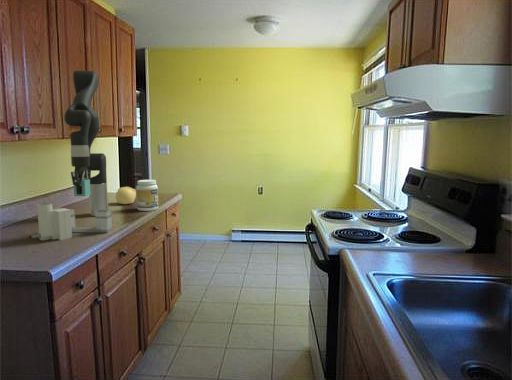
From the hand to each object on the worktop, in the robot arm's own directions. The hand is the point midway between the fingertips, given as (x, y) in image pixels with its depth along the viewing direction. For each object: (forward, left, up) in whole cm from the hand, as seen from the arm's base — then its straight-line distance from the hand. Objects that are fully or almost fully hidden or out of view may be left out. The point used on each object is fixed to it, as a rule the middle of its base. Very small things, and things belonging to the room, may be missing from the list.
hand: (82, 193), depth 172 cm
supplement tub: (-49, +14, -17) cm, 54 cm away
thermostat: (+13, -9, -18) cm, 24 cm away
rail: (+1, +1, -17) cm, 17 cm away
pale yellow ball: (-66, -5, -18) cm, 69 cm away
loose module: (0, 0, -1) cm, 1 cm away
